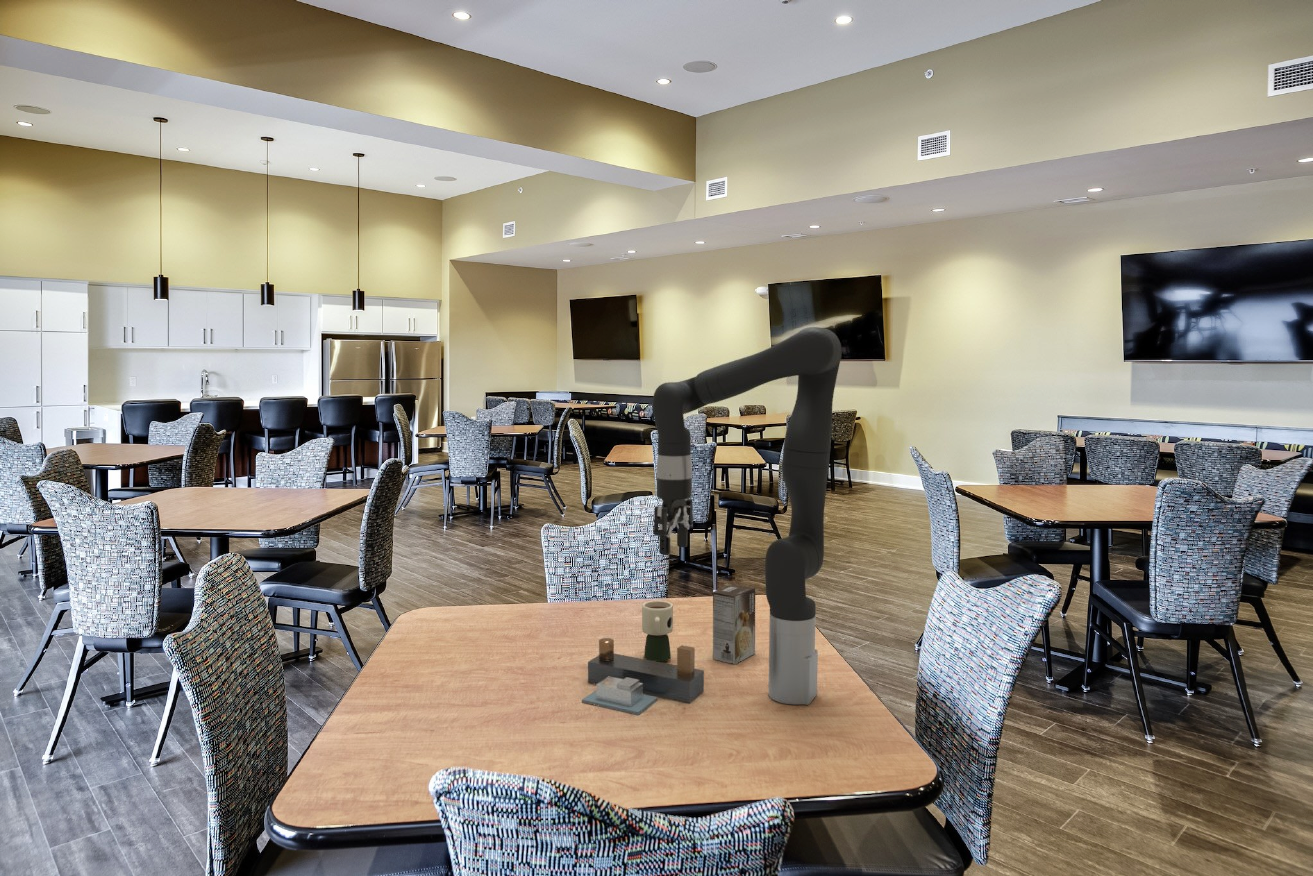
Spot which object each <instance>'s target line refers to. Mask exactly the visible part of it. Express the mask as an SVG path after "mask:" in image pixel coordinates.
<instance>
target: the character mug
mask: <svg viewBox="0 0 1313 876" xmlns="http://www.w3.org/2000/svg"><path fill="white" fill-rule="evenodd" d="M641 611H642V612H641V630H642V632H643V633H644V634H646V636H645V637H646V638H645V643H644V652H643V654H644V656H643V659H646V660H651V661H657V662H666V661H669V660H670V659H672V658H671V656H672V655H671V646H670V638H669V634H670V633H672V632H673V631H674V630H673V629H674V604H673V603H672V602H669V601H664V600H650V601H646V602H643V604H641Z"/></svg>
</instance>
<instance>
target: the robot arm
mask: <svg viewBox="0 0 1313 876" xmlns="http://www.w3.org/2000/svg"><path fill="white" fill-rule="evenodd" d="M841 359H842V343H841V342H840V339H839V338H838V336H837V335H836V333H835V332H833V331H832V330H830V329H828V328H824V327H817V326H816V327H815V326H811V327H806V328H803V329H801V330H799V331H798V332H796V333H794V334H793V335H791V336H789V337H788V338H786V339H784V340H782V341H780V342H778V343H777V344H775V345H773V346H770V347H768V348H766V349H764V350H762V351H759V352H757V353H754V354H751V355H748V356H745V357H742V358H738V359H734V360H732V361H729V362H726V363H723V364H719V365H717V366H714V367H711V368H708V369H705V370H703V371H701V372H699V373H698V374H697V375H695V376H693V377H690V378H688V379H685V380H680V381H676V382H673V381H672V382H671V381H668V382H663V383H662V384H660V385H658V386H657V388H656V389H655V391H654V392H653V396H652V412H653V419H654V423H655V427H656V431H657V458H656V459H657V461H656V497H657V498H658V499H660V500H662V504H661V506H655V507H654V510H653V514H654V516H653V535H654V536H658V537H659V554H660V555H663V556H664V555H665V556H669V555H671V534H672V530H673V529H675V528H677V529H676V546H677V547H678V548H687V547H688V544H689V543H688V535H689V534H688V530H690V526H693V523H694V518H693V517H694V516H693V515H694V513H693V512H694V511H693V499H692V498H691V497H692V492H693V491H692V490H693V489H692V487H693V486H692V483H693V481H692V480H693V479H692V477H693V476H692V474H693V473H692V471H693V467H692V458H691V456H692V455H691V453H692V451H691V450H692V447H691V445H692V444H691V443H692V441H691V439H692V438H691V437H692V435H691V431H690V429H688V428H687V427H686V426H685V419H684V415H685V414H689V413H692V412H694V411H697V410H698V409H701V408H704V407H706V406H708V405H711V404H714V403H719V402H722V401H724V400H725V401H726V400H727V399H731V398H733V397H737V396H740V395H741V394H744V393H746V392H748V391H752V390H753V389H755V388H758V387H759V386H762V385H764V384H768V383H770V382H773V381H777V380H780V379H785V378H791V377H797V376H798V377H797V392H796V398H795V399H796V400H795V403H794V407H793V410H792V413H791V415H790V418H789V422H788V425H787V428H786V432H785V436H784V442H783V450H782V451H783V452H782V460H781V461H782V462H781V463H782V464H781V473H782V479H783V481H784V482H783V483H784V485H785V489H786V491H787V495H788V498H789V501H790V507H791V516H790V526H789V531H788V536H786V537H782V538H779V539H776V540H775V541H773V542H772V543H771V544H770V545H769V546H768V548H767V550H766V554H765V561H764V563H765V564H764V573H765V575H764V578H765V595H766V596H765V597H766V600H767V603H768V606H769V633H768V634H769V636H768V637H769V638H768V640H769V641H768V642H769V645H768V696H769V698H770V699H771V700H774V701H775V702H778V703H779V704H785V705H807V706H809V705H810V704H811V703H812V702H813V700H814V698H816V697H817V695H818V661H819V660H818V659H819V652H818V649H816V612H817V611H816V609H817V608H816V607H817V606H816V602H815V601H814V599H812V598H810V597H808V596H807V592H806V591H807V590H806V580H807V579H811V578H813V577H814V576H815V575H817V574H818V573H819V572H820V570H821V568H822V566H823V563H824V558H825V557H824V555H825V530H824V528H825V527H824V526H825V525H824V519H825V517H824V515H825V504H826V493H827V482H828V475H829V474H828V473H829V467H830V458H831V457H830V456H831V447H832V445H831V443H832V429H833V400H834V394H835V388H836V382H837V378H838V374H839V369H840V364H841V361H842V360H841Z"/></svg>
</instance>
